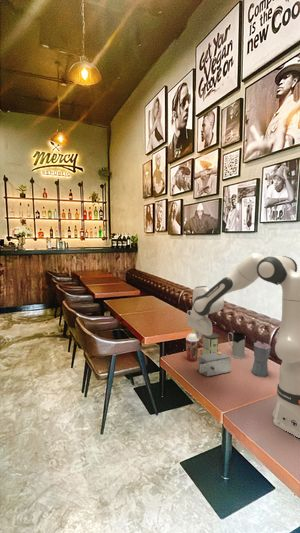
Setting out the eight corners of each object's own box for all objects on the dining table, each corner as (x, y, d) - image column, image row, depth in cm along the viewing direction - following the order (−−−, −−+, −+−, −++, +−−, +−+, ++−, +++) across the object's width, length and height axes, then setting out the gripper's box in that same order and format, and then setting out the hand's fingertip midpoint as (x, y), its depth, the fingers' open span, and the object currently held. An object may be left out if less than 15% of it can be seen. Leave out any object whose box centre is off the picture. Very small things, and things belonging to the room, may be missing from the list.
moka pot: (259, 380, 152) (261, 345, 150) (244, 367, 167) (246, 335, 165) (274, 378, 154) (277, 344, 152) (258, 366, 169) (260, 334, 167)
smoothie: (198, 363, 172) (199, 331, 170) (184, 361, 173) (185, 330, 171) (198, 357, 180) (199, 327, 178) (185, 356, 181) (186, 326, 179)
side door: (231, 372, 159) (232, 359, 159) (201, 379, 151) (201, 365, 150) (229, 370, 161) (229, 357, 160) (199, 377, 152) (199, 363, 152)
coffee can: (207, 351, 191) (208, 331, 189) (220, 355, 184) (221, 335, 182) (199, 355, 183) (199, 334, 182) (212, 360, 176) (213, 338, 175)
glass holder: (238, 359, 178) (239, 337, 176) (222, 351, 190) (223, 330, 189) (247, 357, 182) (249, 335, 180) (231, 349, 194) (233, 329, 193)
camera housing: (228, 371, 161) (229, 355, 160) (204, 376, 154) (205, 360, 153) (220, 365, 168) (220, 350, 168) (196, 370, 161) (197, 354, 160)
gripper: (216, 318, 146) (214, 343, 147) (194, 309, 165) (193, 332, 166) (206, 319, 143) (205, 345, 145) (185, 310, 162) (184, 333, 163)
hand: (198, 338), depth 155 cm, fingers closed
